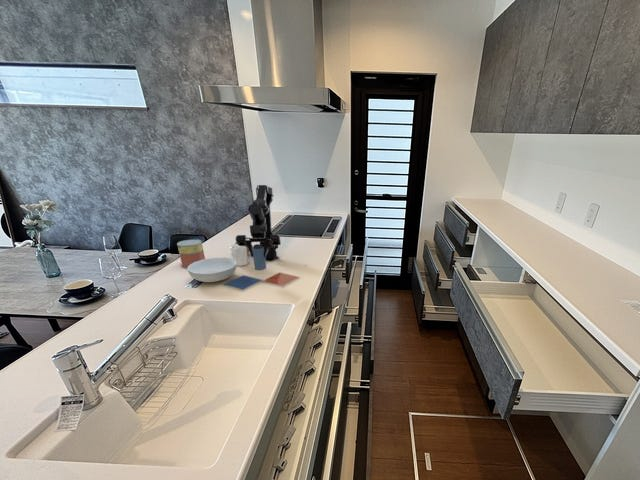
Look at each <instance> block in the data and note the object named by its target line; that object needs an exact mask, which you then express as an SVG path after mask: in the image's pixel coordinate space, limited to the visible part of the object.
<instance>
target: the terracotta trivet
mask: <svg viewBox="0 0 640 480" xmlns="http://www.w3.org/2000/svg"><path fill="white" fill-rule="evenodd" d="M298 278H299V276H296V275H293V274H292V275H291V274H287V273H282V272H278V273H275V274H273V275H272V276H270V277H268V278H266V279H264V280H263V282H264V283H268V284H272V285H276V286H280V287H284V286H286V285H288V284H290V283H291V282H293V281H294V280H297V279H298Z"/></svg>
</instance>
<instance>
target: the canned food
mask: <svg viewBox="0 0 640 480" xmlns="http://www.w3.org/2000/svg"><path fill="white" fill-rule="evenodd" d="M176 246H177V250H178V253H179V259H180V262H181V267H182V268H185V269H187V268H188V266H189V265H190V264H192V263H194V262H196V261H200V260H203V259H206V256H205V252H204V247H203V240H201V239H196V238H195V239H193V238H192V239H184V240H181V241H180V240H179V241H178V242H177V243H176Z"/></svg>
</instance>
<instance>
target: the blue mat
mask: <svg viewBox="0 0 640 480" xmlns="http://www.w3.org/2000/svg"><path fill="white" fill-rule="evenodd" d="M261 281H262V279H260V278H257V277H256V278H255V277H252V276H247V275H241V276H239V277H237V278H234V279H231V280H230V281H228V282H225V283H223V284H222V285H223V286H228V287H231V288H235V289H239V290H246V289H247V288H249V287H251V286H253V285H255V284H258V283H260V282H261Z"/></svg>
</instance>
